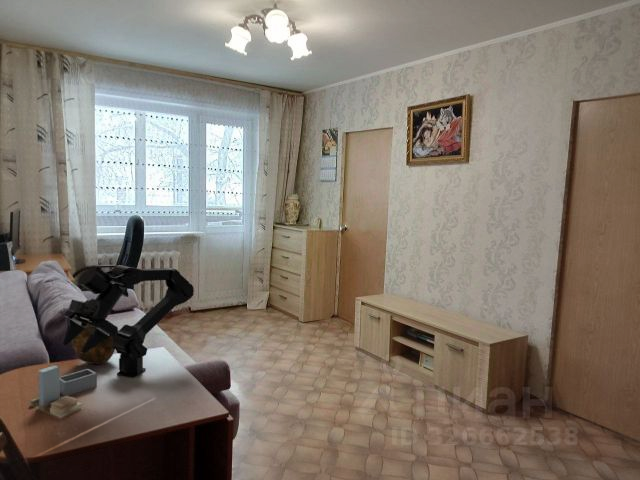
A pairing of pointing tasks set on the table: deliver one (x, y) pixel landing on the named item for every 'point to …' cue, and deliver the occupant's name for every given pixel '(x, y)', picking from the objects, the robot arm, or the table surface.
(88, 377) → the holder
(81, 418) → the table surface
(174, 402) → the table surface
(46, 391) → the panel
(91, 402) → the table surface
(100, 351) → the rock
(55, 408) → the rack
